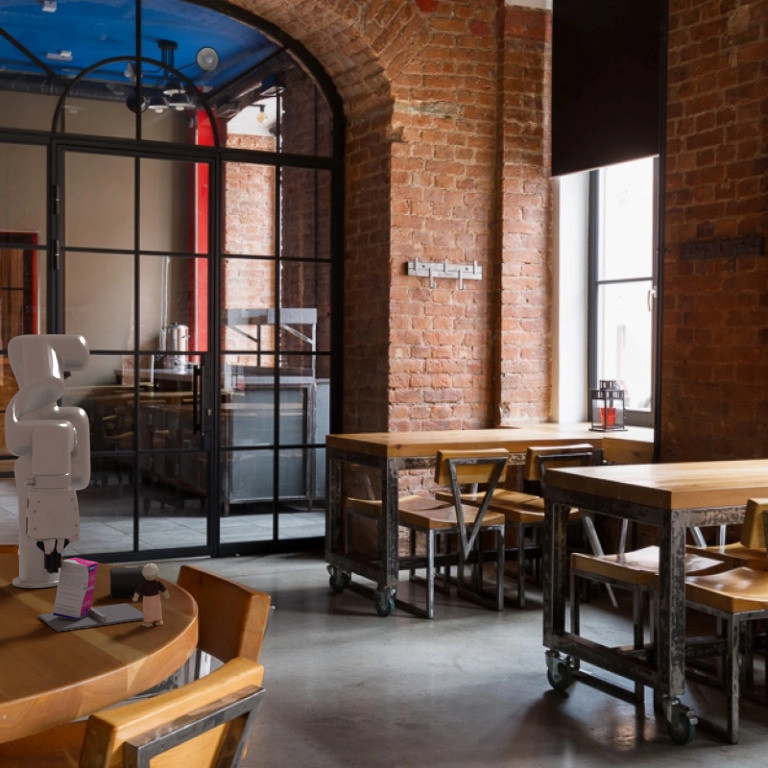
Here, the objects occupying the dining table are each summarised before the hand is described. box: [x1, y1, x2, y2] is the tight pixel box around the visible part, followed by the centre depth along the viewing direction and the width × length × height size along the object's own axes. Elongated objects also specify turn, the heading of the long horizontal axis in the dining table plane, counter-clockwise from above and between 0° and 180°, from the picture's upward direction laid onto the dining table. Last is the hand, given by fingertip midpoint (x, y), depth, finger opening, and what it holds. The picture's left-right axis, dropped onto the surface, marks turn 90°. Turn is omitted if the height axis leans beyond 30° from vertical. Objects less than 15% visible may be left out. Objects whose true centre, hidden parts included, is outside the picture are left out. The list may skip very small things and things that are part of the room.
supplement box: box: [52, 557, 99, 620], centre depth 220 cm, size 6×6×12 cm
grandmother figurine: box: [131, 563, 170, 628], centre depth 217 cm, size 8×4×13 cm, turn 135°
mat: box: [38, 602, 144, 633], centre depth 222 cm, size 14×19×2 cm
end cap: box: [109, 565, 157, 598], centre depth 243 cm, size 10×7×7 cm
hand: (52, 572), depth 217 cm, fingers closed
